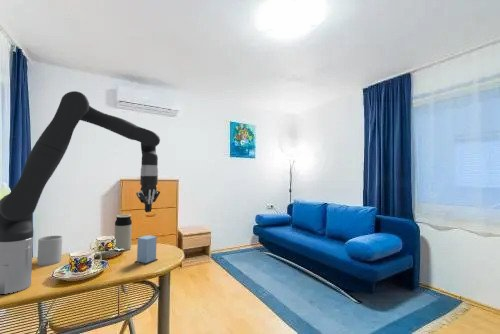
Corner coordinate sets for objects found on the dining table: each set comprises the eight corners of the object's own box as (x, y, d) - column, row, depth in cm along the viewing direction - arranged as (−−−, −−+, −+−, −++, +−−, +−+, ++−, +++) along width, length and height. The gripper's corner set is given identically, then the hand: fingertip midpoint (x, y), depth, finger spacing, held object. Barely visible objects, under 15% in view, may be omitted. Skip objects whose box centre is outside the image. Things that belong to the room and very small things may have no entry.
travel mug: (134, 247, 135) (135, 214, 136) (122, 252, 127) (123, 217, 128) (122, 246, 137) (123, 213, 138) (110, 250, 130) (111, 216, 130)
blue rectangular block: (146, 263, 112) (147, 239, 112) (137, 261, 114) (137, 238, 115) (156, 259, 117) (156, 236, 118) (146, 257, 120) (147, 235, 120)
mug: (59, 264, 110) (60, 239, 110) (34, 267, 106) (35, 241, 106) (64, 255, 120) (65, 233, 121) (42, 258, 116) (43, 234, 117)
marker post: (146, 264, 111) (146, 248, 111) (134, 262, 114) (135, 246, 114) (157, 259, 118) (158, 244, 118) (146, 257, 120) (147, 242, 120)
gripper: (153, 174, 124) (152, 209, 124) (131, 174, 112) (130, 213, 112) (165, 175, 121) (164, 210, 121) (144, 175, 109) (143, 214, 109)
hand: (148, 211), depth 116 cm, fingers closed
